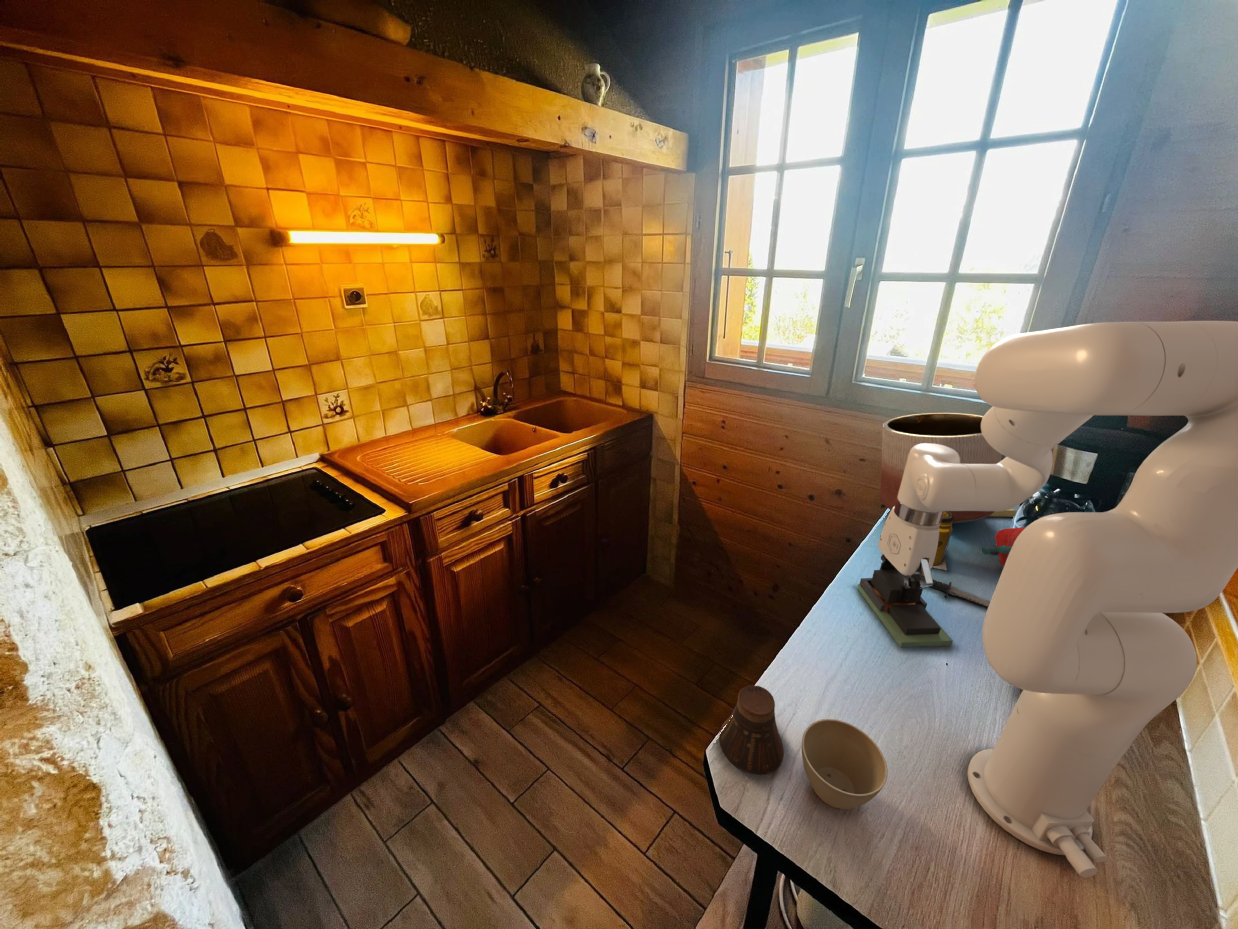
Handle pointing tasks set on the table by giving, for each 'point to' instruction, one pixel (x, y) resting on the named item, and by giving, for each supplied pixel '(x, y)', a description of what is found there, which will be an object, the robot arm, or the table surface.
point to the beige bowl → (842, 763)
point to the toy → (1003, 543)
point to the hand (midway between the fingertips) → (895, 589)
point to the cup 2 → (753, 732)
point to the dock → (908, 639)
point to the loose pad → (890, 584)
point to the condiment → (943, 540)
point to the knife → (956, 592)
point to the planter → (936, 429)
